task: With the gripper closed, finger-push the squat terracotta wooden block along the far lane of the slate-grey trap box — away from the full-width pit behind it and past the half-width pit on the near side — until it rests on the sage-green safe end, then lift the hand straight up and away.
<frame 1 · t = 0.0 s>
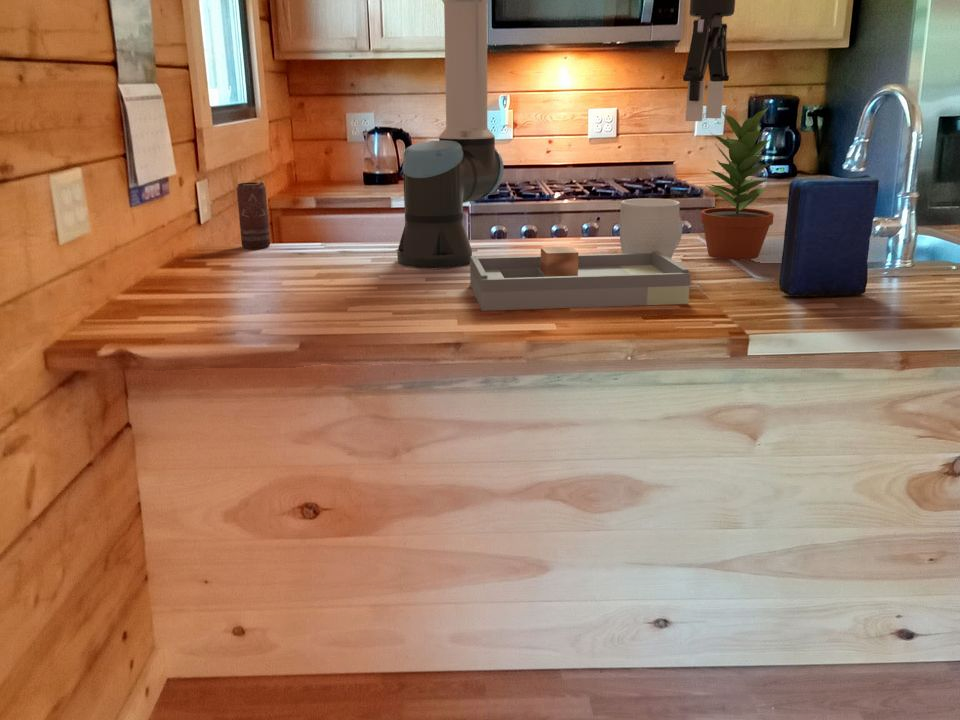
hand: (703, 119, 153), 28 cm above the countertop, fingers open, 13 cm apart
mug: (650, 270, 165), on the countertop
potted plant: (732, 256, 178), on the countertop
book: (822, 297, 144), on the countertop
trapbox: (568, 294, 146), on the countertop
block: (558, 272, 148), point 3 cm above the countertop, touching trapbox
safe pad: (636, 286, 151), on the countertop
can: (256, 247, 189), on the countertop
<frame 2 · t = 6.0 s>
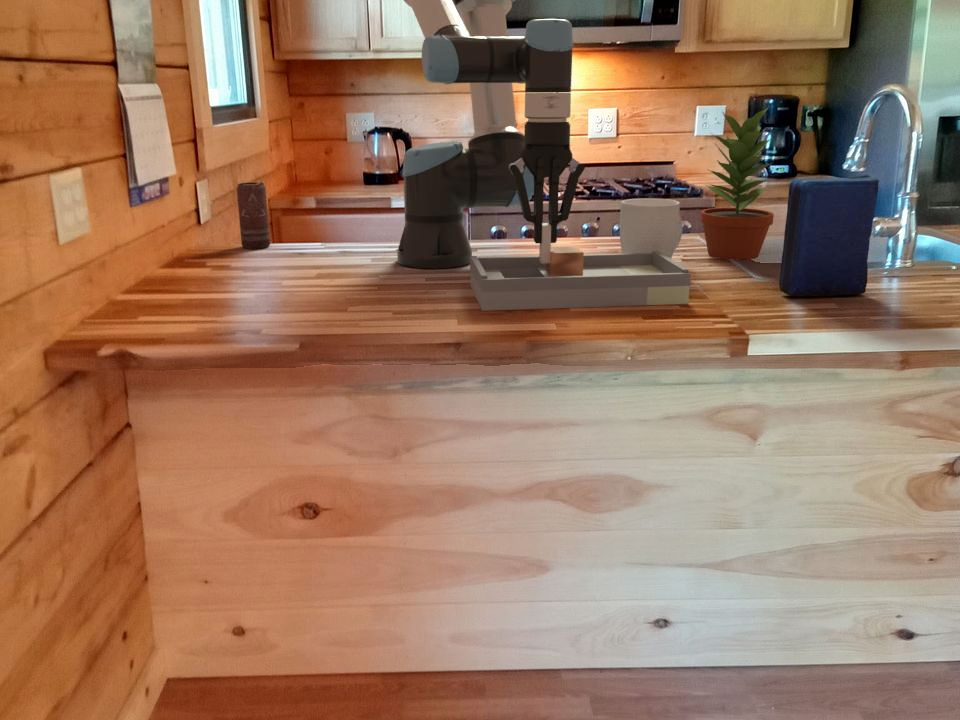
hand: (544, 261, 147), 5 cm above the countertop, fingers closed
block: (564, 272, 148), point 3 cm above the countertop, touching gripper
everything else where it was.
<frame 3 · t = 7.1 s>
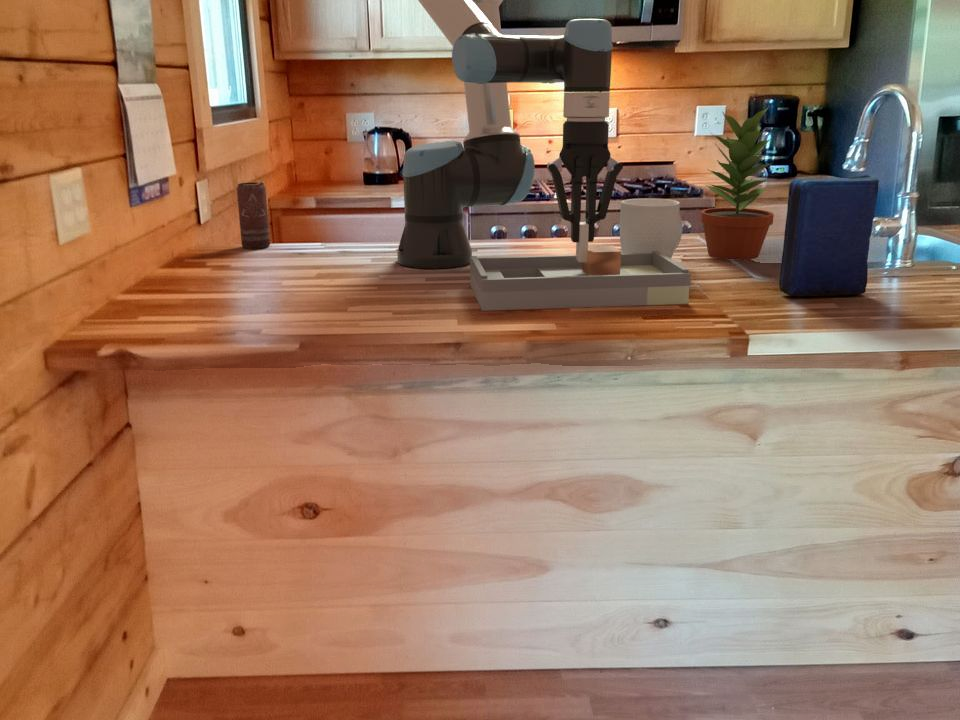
hand: (581, 260, 148), 5 cm above the countertop, fingers closed
block: (600, 271, 149), point 3 cm above the countertop, touching gripper
everything else where it was.
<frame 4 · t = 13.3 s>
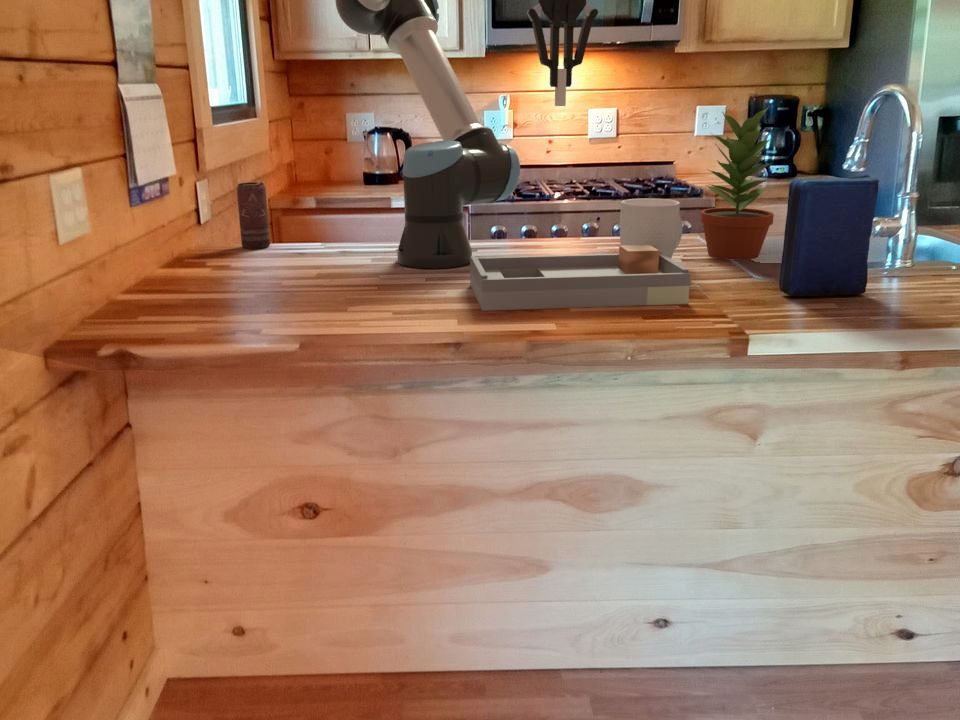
hand: (560, 105, 158), 30 cm above the countertop, fingers closed
block: (637, 270, 149), point 3 cm above the countertop, touching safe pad, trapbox
everything else where it was.
at the end: block 0.2 cm from the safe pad (horizontally); block point 3.0 cm above the countertop; block tilted 0° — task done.
